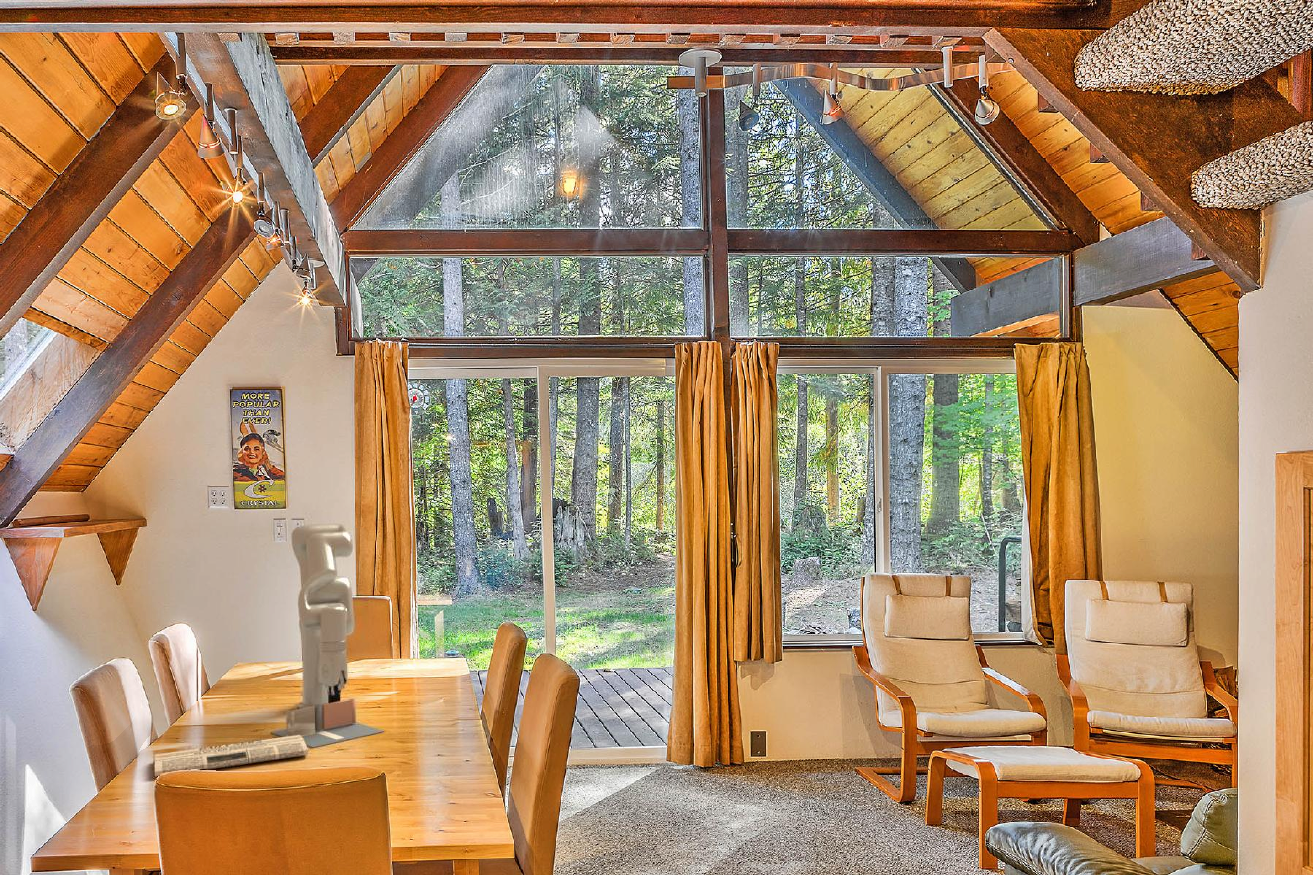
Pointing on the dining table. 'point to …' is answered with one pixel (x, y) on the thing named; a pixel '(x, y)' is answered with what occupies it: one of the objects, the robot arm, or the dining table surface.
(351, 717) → the fence panel
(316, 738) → the card
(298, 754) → the newspaper
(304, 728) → the fence fixed
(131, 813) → the dining table surface
